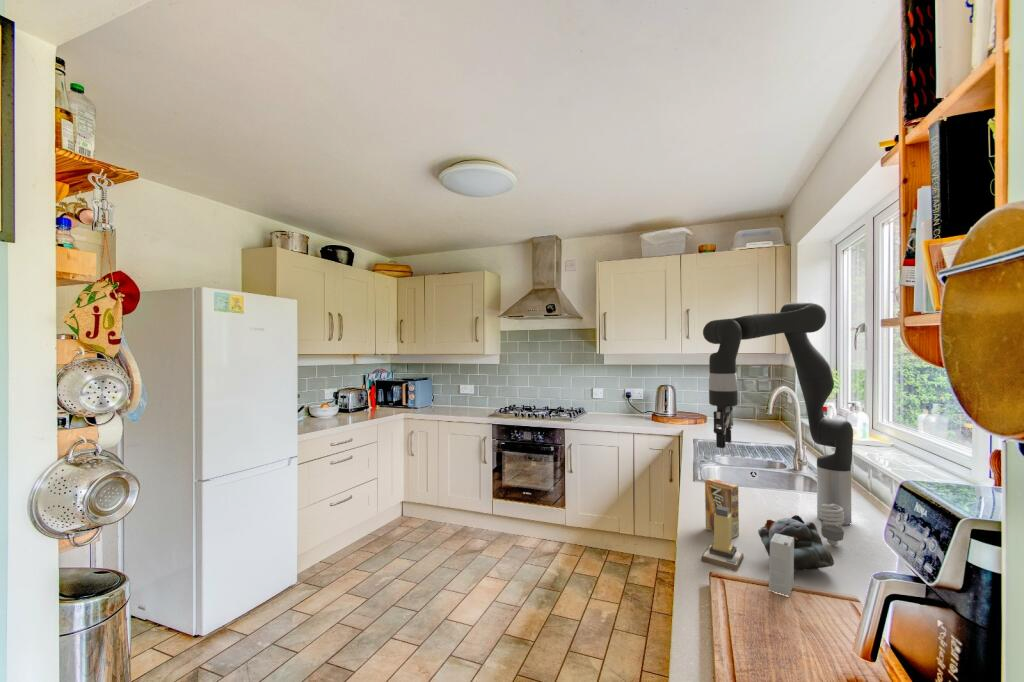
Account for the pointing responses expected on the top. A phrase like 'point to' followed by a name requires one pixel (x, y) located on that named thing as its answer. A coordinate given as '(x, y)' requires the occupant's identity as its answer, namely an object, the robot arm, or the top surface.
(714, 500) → the candy box
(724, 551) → the ochre key
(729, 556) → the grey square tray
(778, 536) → the skincare box
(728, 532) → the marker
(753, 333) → the robot arm
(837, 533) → the light bulb
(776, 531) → the lucky cat figurine
